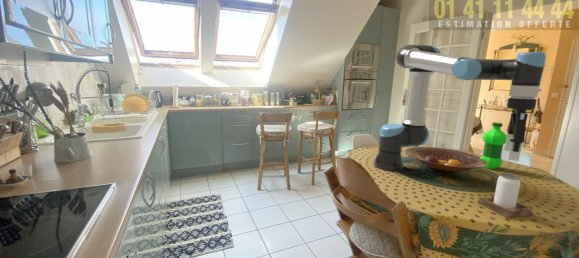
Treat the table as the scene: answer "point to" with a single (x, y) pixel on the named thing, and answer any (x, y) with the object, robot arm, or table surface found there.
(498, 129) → the plastic bottle
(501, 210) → the tray
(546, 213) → the table surface
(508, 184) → the can
